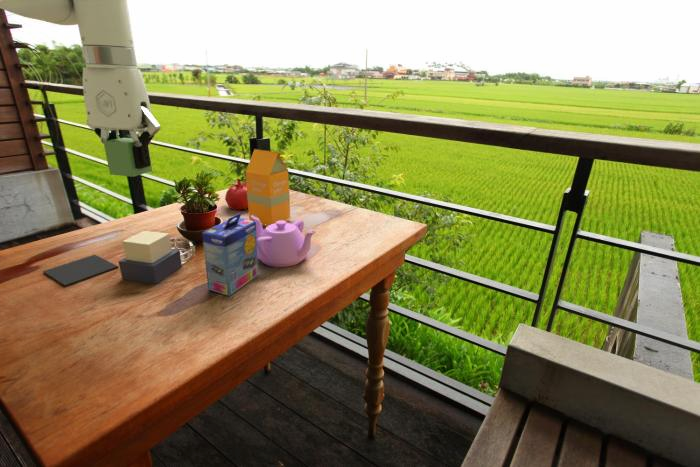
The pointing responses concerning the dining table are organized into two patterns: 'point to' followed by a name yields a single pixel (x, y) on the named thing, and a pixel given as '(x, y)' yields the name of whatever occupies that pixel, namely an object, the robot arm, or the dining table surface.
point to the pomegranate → (237, 196)
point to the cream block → (147, 246)
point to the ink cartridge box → (230, 254)
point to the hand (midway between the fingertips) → (130, 165)
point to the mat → (80, 270)
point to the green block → (122, 158)
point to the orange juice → (268, 187)
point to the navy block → (151, 268)
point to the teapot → (282, 243)
